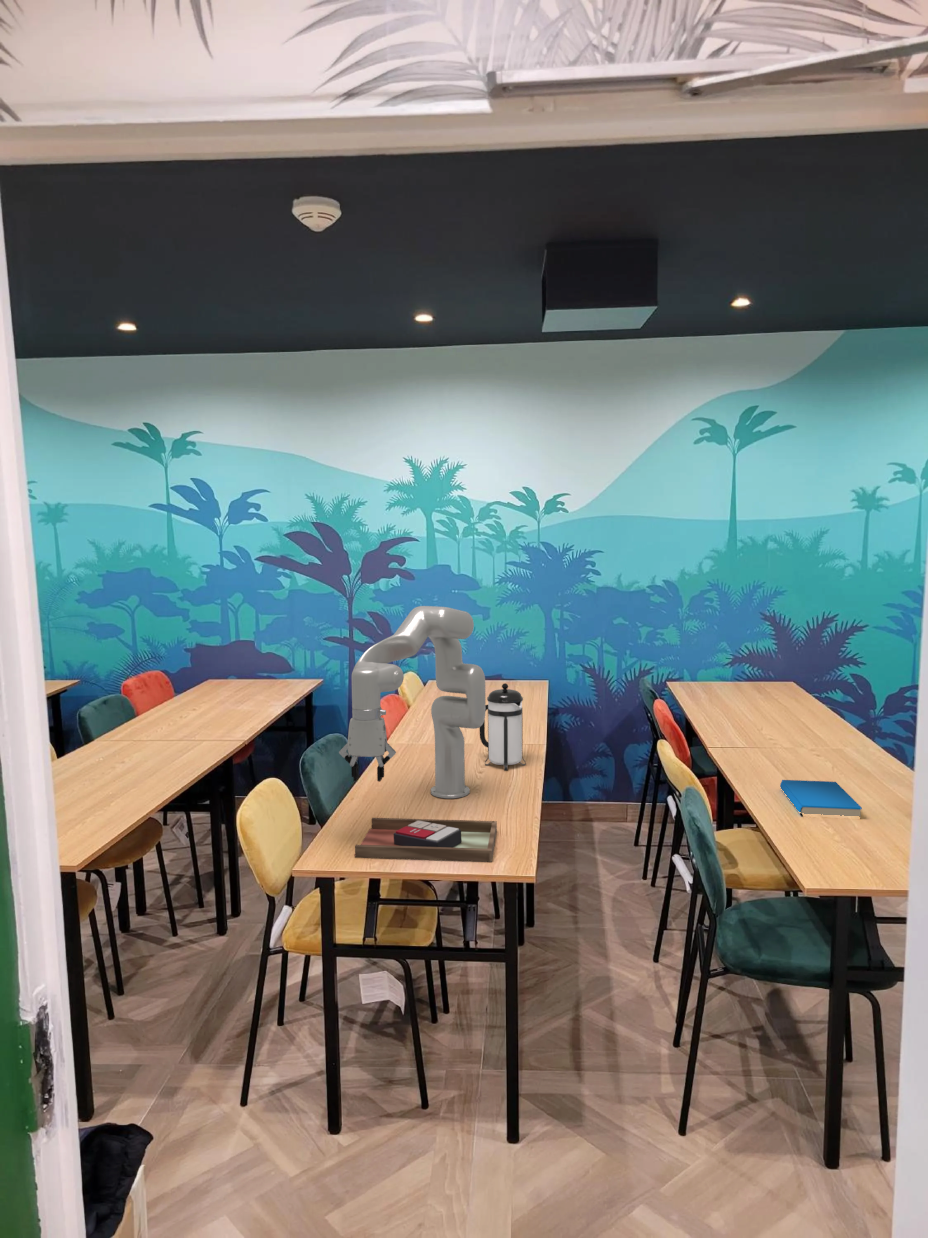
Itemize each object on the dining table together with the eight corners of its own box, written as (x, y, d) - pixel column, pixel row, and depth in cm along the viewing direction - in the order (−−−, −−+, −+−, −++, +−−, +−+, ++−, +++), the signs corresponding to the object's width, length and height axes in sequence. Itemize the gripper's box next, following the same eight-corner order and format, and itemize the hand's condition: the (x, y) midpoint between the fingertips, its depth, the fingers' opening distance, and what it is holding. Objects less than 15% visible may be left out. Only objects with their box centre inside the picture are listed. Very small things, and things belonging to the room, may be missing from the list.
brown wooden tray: (370, 827, 225) (370, 817, 225) (496, 831, 222) (496, 821, 221) (352, 857, 204) (352, 846, 204) (491, 862, 201) (491, 850, 200)
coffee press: (526, 759, 294) (526, 679, 291) (525, 771, 278) (525, 687, 275) (479, 758, 295) (479, 678, 292) (476, 770, 280) (475, 687, 276)
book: (835, 781, 253) (863, 806, 228) (835, 794, 253) (862, 821, 228) (779, 779, 255) (800, 804, 231) (778, 792, 256) (800, 818, 231)
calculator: (417, 818, 221) (461, 826, 213) (418, 833, 222) (462, 842, 213) (392, 831, 212) (437, 839, 204) (393, 846, 213) (438, 856, 204)
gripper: (401, 711, 214) (402, 776, 216) (338, 710, 216) (340, 775, 217) (395, 717, 206) (397, 785, 208) (331, 716, 208) (333, 783, 210)
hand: (368, 779), depth 213 cm, fingers open, 5 cm apart
